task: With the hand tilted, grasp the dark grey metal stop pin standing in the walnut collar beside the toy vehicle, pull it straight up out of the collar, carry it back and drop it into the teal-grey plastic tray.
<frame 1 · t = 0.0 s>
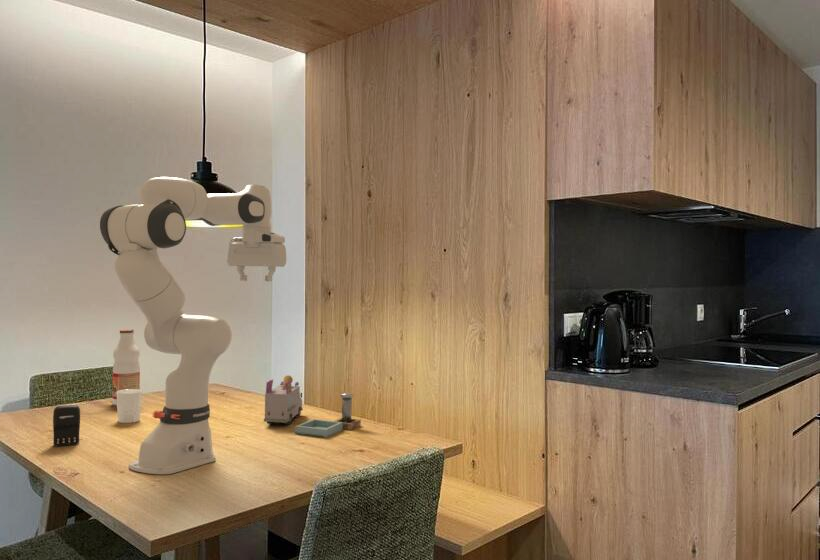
hand: (256, 281, 203), 48 cm above the table, tool pointing down, fingers open, 8 cm apart
fruit juice: (125, 404, 243), on the table
collar: (346, 426, 213), on the table
white cup: (129, 421, 216), on the table
battery charger: (66, 445, 185), on the table
stop pin: (346, 410, 213), in the collar
tray: (319, 432, 206), on the table
toy vehicle: (283, 421, 220), on the table
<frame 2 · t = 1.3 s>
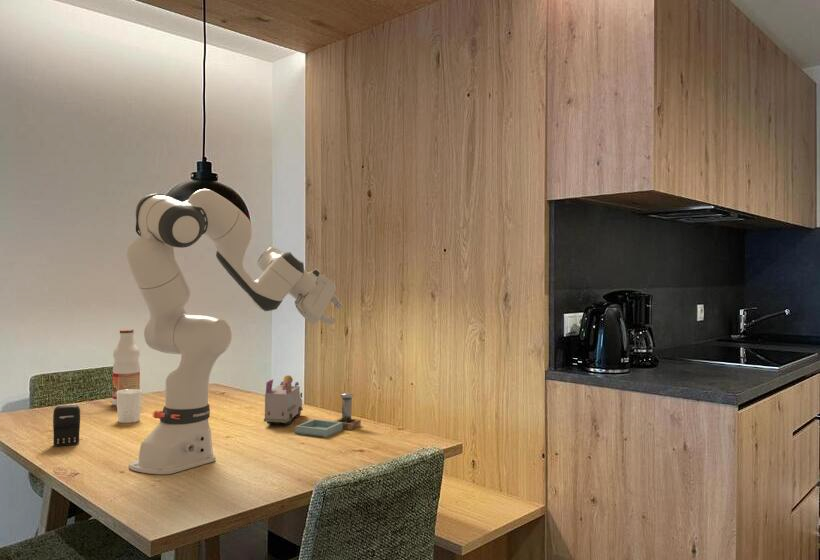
hand: (337, 315, 204), 38 cm above the table, tool tilted 50°, fingers open, 8 cm apart
nothing on the table moved.
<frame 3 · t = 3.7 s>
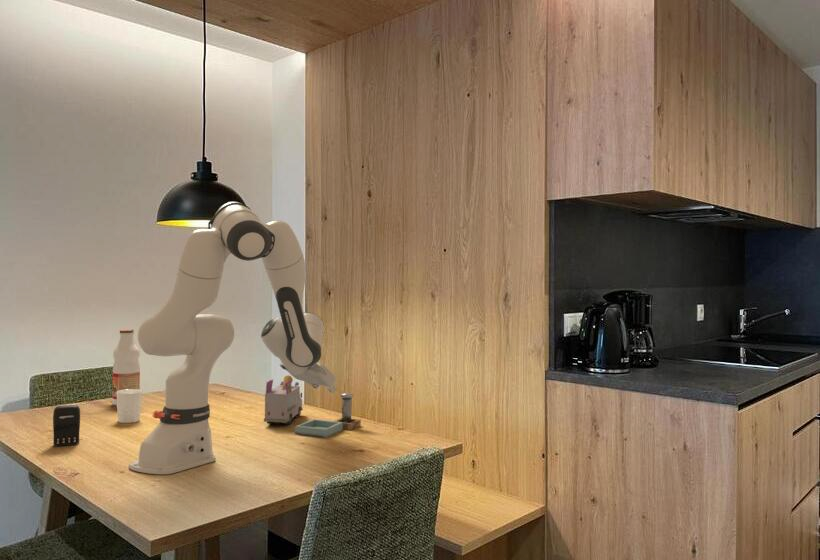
hand: (325, 388, 206), 14 cm above the table, tool tilted 45°, fingers open, 8 cm apart
nothing on the table moved.
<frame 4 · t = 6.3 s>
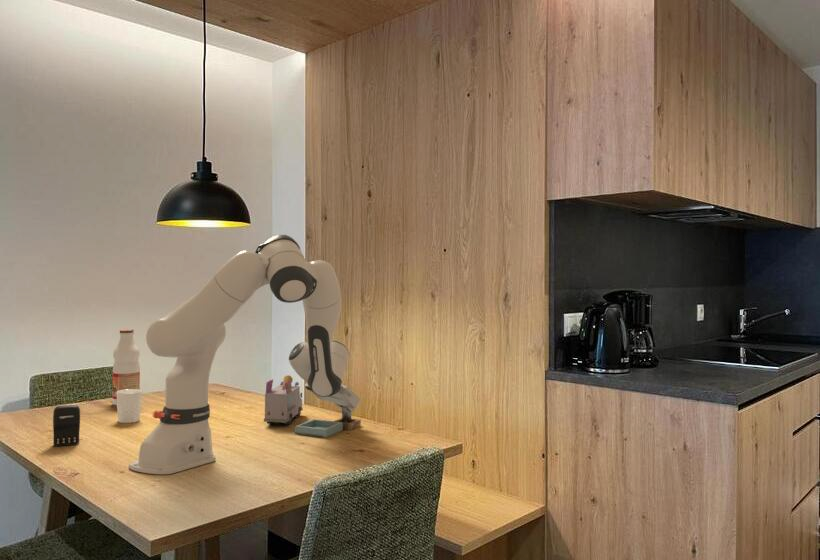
hand: (348, 408, 214), 6 cm above the table, tool tilted 45°, fingers closed on stop pin, 3 cm apart
stop pin: (346, 410, 213), in the collar, touching gripper
everything else where it was.
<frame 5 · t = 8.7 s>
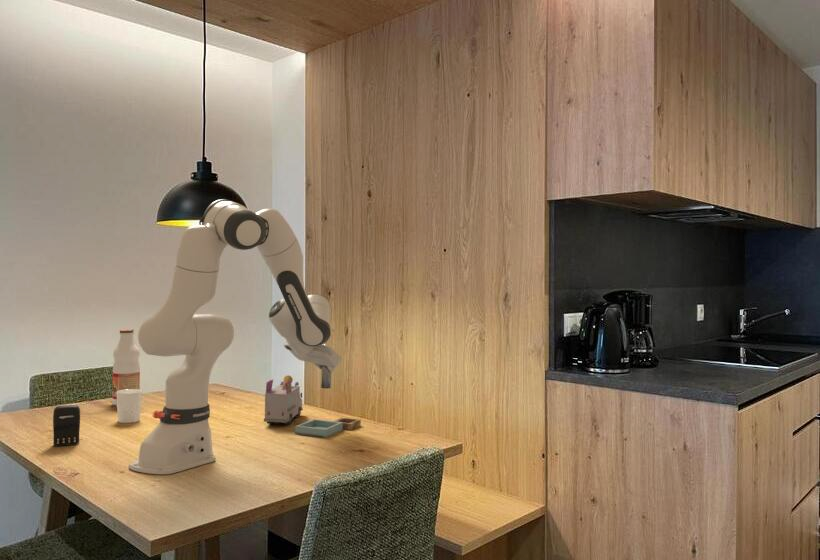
hand: (327, 369, 211), 19 cm above the table, tool tilted 45°, fingers closed on stop pin, 3 cm apart
stop pin: (326, 370, 211), point 19 cm above the table, touching gripper
everything else where it was.
when the fingers open (8 cm above the table, at t = 11.0 s): stop pin drops 2 cm, resting on tray.
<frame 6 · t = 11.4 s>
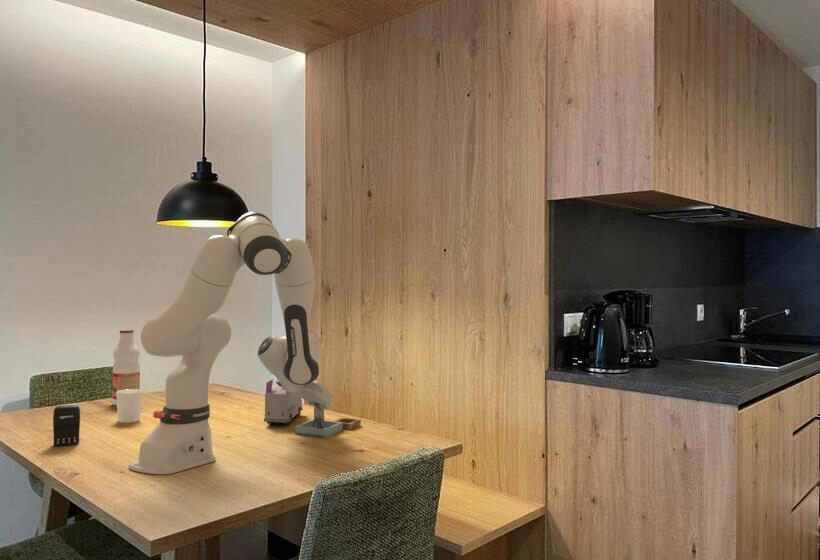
hand: (321, 405, 206), 8 cm above the table, tool tilted 45°, fingers open, 7 cm apart
stop pin: (319, 412, 206), in the tray, point 6 cm above the table
everything else where it was.
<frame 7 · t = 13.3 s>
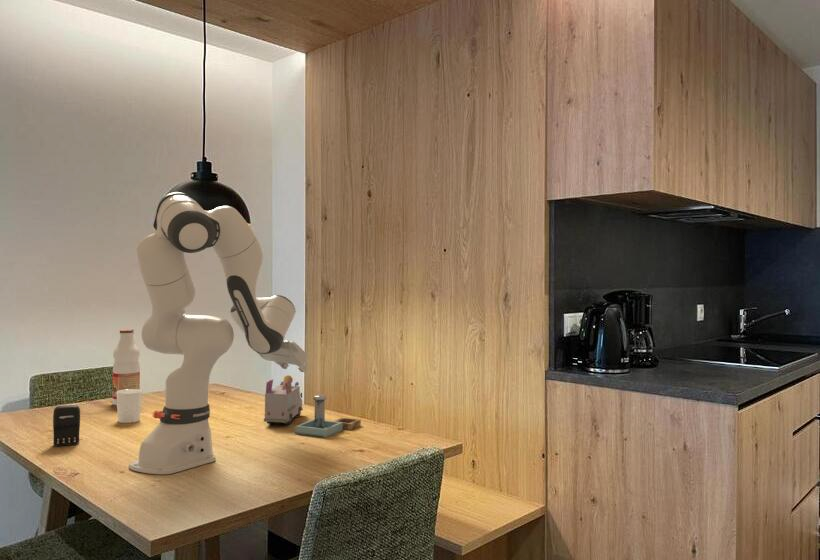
hand: (295, 368, 202), 21 cm above the table, tool tilted 45°, fingers open, 8 cm apart
nothing on the table moved.
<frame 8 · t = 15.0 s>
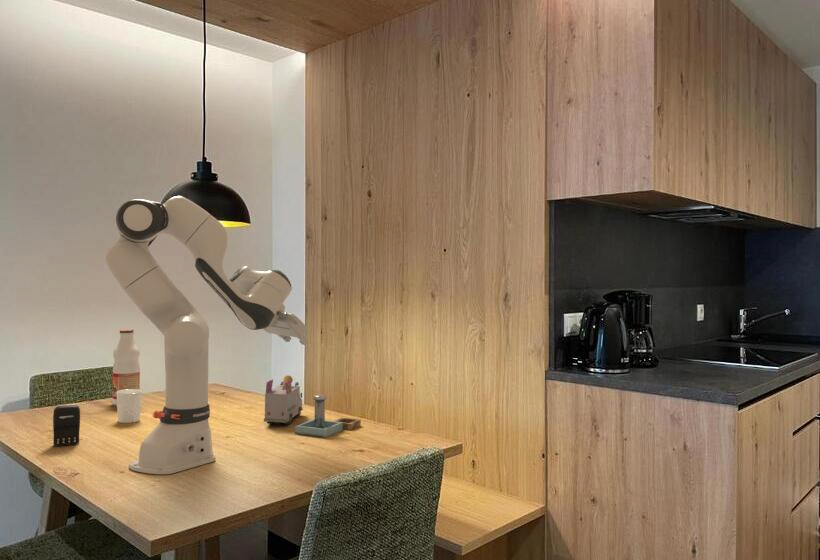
hand: (297, 341, 200), 29 cm above the table, tool tilted 45°, fingers open, 8 cm apart
nothing on the table moved.
at the end: stop pin inside the target area on the tray (0.1 cm from its centre), point 6.1 cm above the tray's base; the gripper is holding nothing; stop pin moved 10.9 cm from its start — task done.
